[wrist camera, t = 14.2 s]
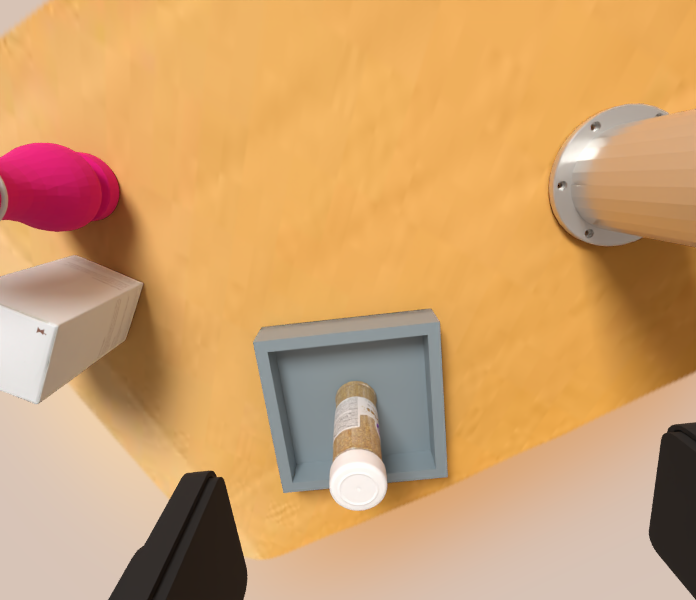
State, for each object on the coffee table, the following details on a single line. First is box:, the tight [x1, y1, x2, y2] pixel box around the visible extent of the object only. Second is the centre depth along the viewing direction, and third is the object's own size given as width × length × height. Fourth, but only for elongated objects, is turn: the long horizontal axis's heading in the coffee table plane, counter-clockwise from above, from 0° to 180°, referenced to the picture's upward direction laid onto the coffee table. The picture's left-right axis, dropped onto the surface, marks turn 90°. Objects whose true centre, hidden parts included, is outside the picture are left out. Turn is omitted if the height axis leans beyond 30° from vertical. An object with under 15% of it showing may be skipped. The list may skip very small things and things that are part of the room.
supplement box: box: [0, 255, 143, 404], centre depth 35 cm, size 7×7×13 cm
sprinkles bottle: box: [329, 381, 387, 511], centre depth 37 cm, size 5×5×14 cm
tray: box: [253, 309, 448, 493], centre depth 42 cm, size 18×18×4 cm
